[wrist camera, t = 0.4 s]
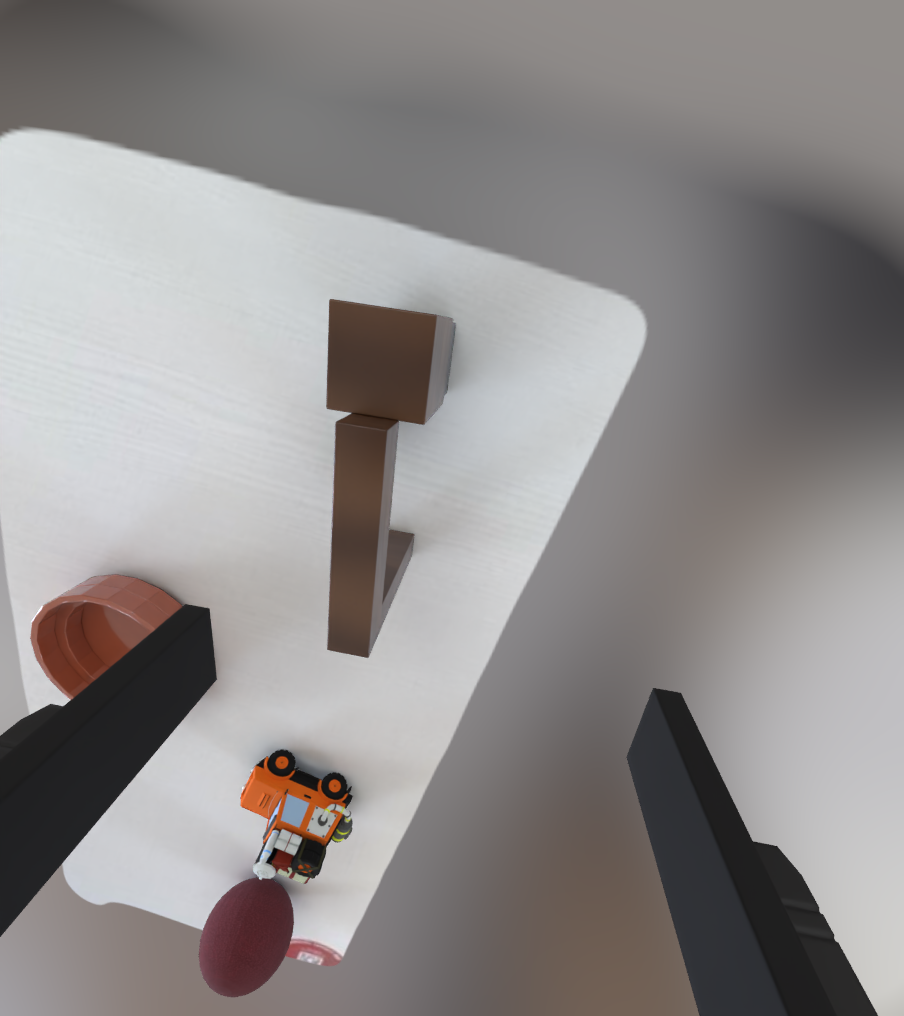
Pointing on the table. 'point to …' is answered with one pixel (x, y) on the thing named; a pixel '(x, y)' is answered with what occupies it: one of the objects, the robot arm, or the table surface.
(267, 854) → the toy car
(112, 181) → the table surface
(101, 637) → the bowl
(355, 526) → the brown wooden mallet
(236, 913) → the decorative ball
